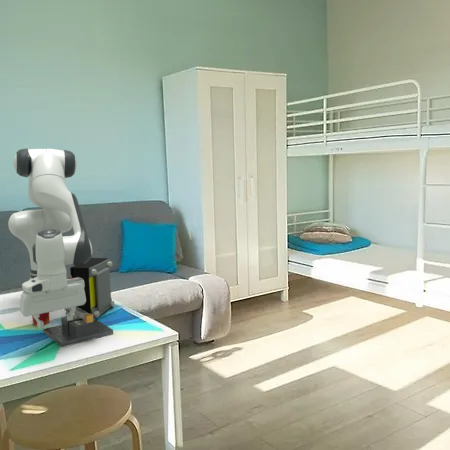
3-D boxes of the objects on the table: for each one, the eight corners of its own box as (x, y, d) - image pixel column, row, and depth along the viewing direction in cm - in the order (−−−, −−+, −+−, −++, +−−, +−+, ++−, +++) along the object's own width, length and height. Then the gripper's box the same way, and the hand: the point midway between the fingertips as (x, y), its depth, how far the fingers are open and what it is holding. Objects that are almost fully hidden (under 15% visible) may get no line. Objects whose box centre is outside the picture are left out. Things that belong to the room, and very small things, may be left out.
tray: (43, 333, 176) (42, 315, 175) (92, 321, 187) (91, 304, 186) (61, 346, 163) (60, 327, 162) (113, 333, 174) (112, 315, 173)
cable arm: (63, 309, 179) (62, 303, 179) (71, 307, 181) (71, 301, 181) (85, 323, 164) (85, 316, 164) (94, 320, 166) (94, 314, 166)
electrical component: (96, 320, 188) (93, 268, 185) (71, 319, 190) (68, 267, 187) (116, 306, 205) (113, 258, 202) (92, 305, 207) (89, 257, 204)
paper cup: (56, 322, 187) (53, 285, 185) (36, 328, 181) (33, 290, 179) (45, 318, 192) (43, 282, 190) (26, 323, 187) (23, 286, 185)
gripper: (80, 274, 169) (82, 314, 171) (16, 285, 156) (20, 328, 158) (87, 277, 164) (90, 318, 166) (22, 289, 152) (26, 333, 153)
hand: (55, 323), depth 162 cm, fingers open, 8 cm apart
